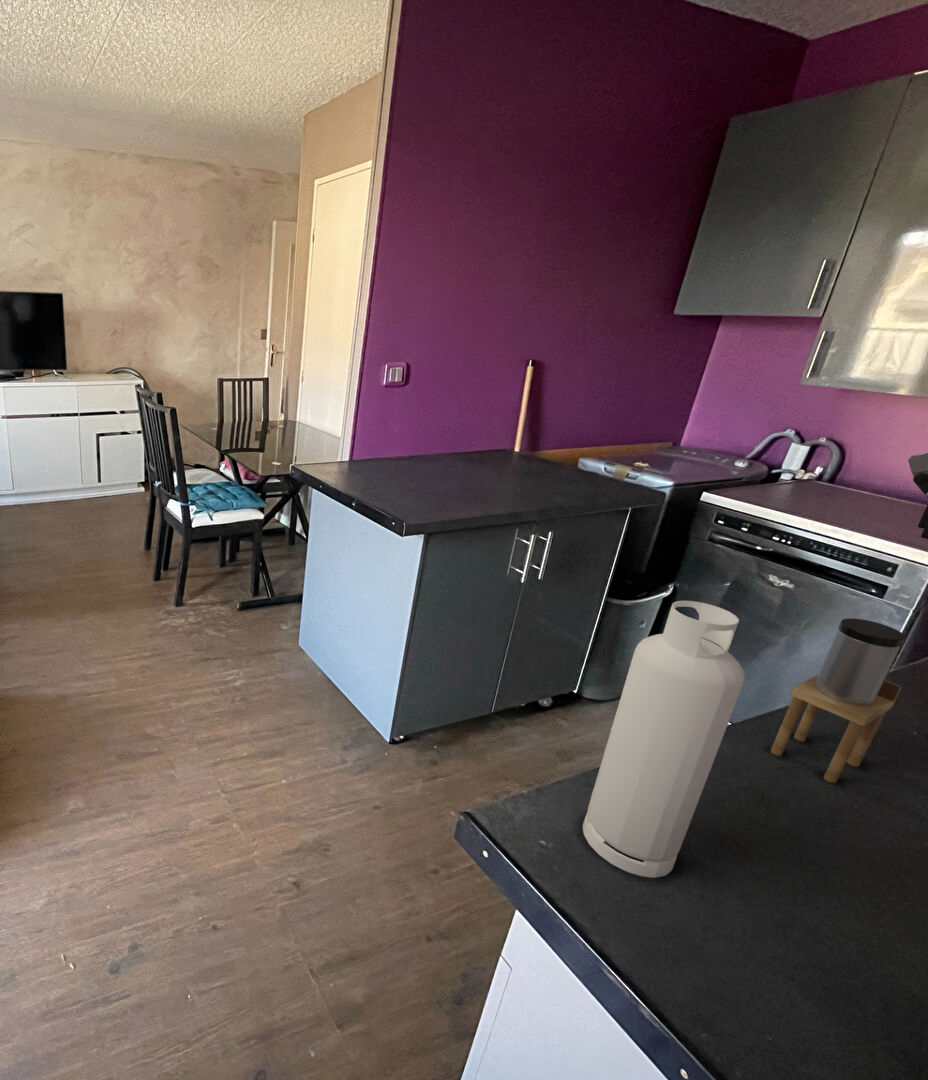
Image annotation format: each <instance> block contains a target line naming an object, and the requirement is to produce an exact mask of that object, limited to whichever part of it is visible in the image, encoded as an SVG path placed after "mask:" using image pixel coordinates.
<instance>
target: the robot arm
mask: <svg viewBox="0 0 928 1080" xmlns="http://www.w3.org/2000/svg"><path fill="white" fill-rule="evenodd" d="M907 462H908V465H909V468H910V472H911V475H912V476H913V477H912V478H913V479H912V481H913V483H914V484H915V485H916V486H917V487H918V489H920V491H921V492H922V493H923V494H924V496H925V497H924V498H925V500H927V501H928V452H923V453H917V454H913V455H911V456H909V457H908V458H907ZM917 528H919V529H923V530H922V533H921V535H920V538H921V539H926V540H928V504H926V507H925V509H924V512H923V514H922V516H921V518H920V520H919V522H918V525H917Z"/></svg>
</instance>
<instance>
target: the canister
mask: <svg viewBox="0 0 928 1080" xmlns="http://www.w3.org/2000/svg"><path fill="white" fill-rule="evenodd" d="M905 640H906V634H904V633H903V632H901V631H900V630H898V629H896V628H894V627H891V626H888V625H885V624H884V623H880V622H876V621H873V620H868V619H862V618H851V617H850V618H843V619H842V620H841V621H840V623H839V625H838V628H837V631H836V634H835V636H834V638H833V641H832V643H831V645H830V648H829V650H828V652H827V654H826V656H825V659H824V661H823V663H822V666H821V668H820V670H819V673H818V674H819V675H818V674H817V675H818V677H817V680H816V682H815V687H816V689H817V690H818V691H820V692H821V693H823V694H824V695H826V696H828V697H830V698H833V699H835V700H838V701H841V702H844V703H848V704H852V705H857V706H870V705H872V704H873V702H874V700H875V698H876V696H877V694H878V692H879V690H880V688H881V686H882V684H883V682H884V680H886V678H887V675H888V673H889V671H890V669H891V668H892V665H893V663H894V662H895V659H896V657H897V655H898V653H899V650H900V648H901V646H903V644H904V642H905Z"/></svg>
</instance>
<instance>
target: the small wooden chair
mask: <svg viewBox="0 0 928 1080" xmlns="http://www.w3.org/2000/svg"><path fill="white" fill-rule="evenodd" d="M818 675H819V673H818V674H816V675H814V676H813V677H811V678H809V679H807V680H805V681H802V682H801V683H799V684H798V685H796V686H794V687H793V688H792V691H791V693H790V696H791V697H792V699H791V701H790V703H789V706H788V708H787V711H786V712H785V715H784V717H783V720H782V722H781V725H780V727H779V729H778V732H777V734H776V737H775V739H774V741H773V744H772V745H771V749H770V753H771V754H773V755H775V756H778V757H782V756H783V754H784V752H785V749H786V746H787V744H788V742H789V740H790V738H791V736H792V733H793V731H794V728H795V726H796V724H797V722H798V720H799V717H800V714H801V712H802V710H803V707H804V706H805V703H807V705H806V708H805V710H804V712H803V715H802V717H801V719H800V722H799V724H798V726H797V728H796V731H795V733H794V735H793V739H795V740H797V741H799V742H805V741H806V740H807V738H808V736H809V733H810V731H811V729H812V726H813V724H814V722H815V720H816V718H817V715H818V713H819V711H820V709H821V710H824V711H827V712H829V713H831V714H834V715H836V716H838V717H841V718H842V719H845V720H848V721H849V723H848V724H847V727H846V729H845V731H844V733H843V735H842V738H841V739H840V742H839V744H838V745H837V748H836V750H835V752H834V754H833V756H832V759H831V760H830V763H829V765H828V767H827V769H826V771H825V773H824V775H823V779H824V780H825V781H827V782H828V783H831V784H836V783H837V782H838V780H839V778H840V776H841V774H842V771H843V769H844V767H845V766H846V763H847V764H848V765H850V766H852V767H856V768H859V767H860V765H861V763H862V761H863V759H864V757H865V756H866V753H867V751H868V749H869V747H870V745H871V744H872V741H873V739H874V738H875V735H876V733H877V731H878V729H879V727H880V725H881V723H882V721H883V719H884V717H885V715H886V713H887V712H888V711H889V710H891V709H892V708H893V707H894V704H895V702H896V700H897V698H898V696H899V694H900V692H901V689H902V688H903V686H902V685H900V684H898V683H895V682H892V681H889V680H887V679H885V680H884V682H883V684H882V686H881V688H880V690H879V692H878V694H877V696H876V698H875V700H874V702H873V704H872V705H870V706H857V705H852V704H848V703H844V702H841V701H838V700H835V699H833V698H830V697H828V696H826V695H824V694H823V693H821V692H820V691H818V690H817V689H816V687H815V682H816V680H817V677H818Z"/></svg>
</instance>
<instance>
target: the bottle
mask: <svg viewBox="0 0 928 1080" xmlns="http://www.w3.org/2000/svg"><path fill="white" fill-rule="evenodd" d="M682 607H684V608H685V607H687V608H692V609H695V610H696V612H697V613H698V619H696V618H693V617H689V616H687V615H685V614H683V613H681V612H680V611H678V610H677V609H676V608H682ZM739 623H740V619H739V618H738V616H737V615H736V614H734V613H733V612H731V611H729V610H727V609H724V608H722V607H719V606H716V605H714V604H710V603H706V602H702V601H701V602H700V601H694V600H677V601H675V602H672V604H671V607H670V609H669V613H668V617H667V620H666V623H665V626H664V629H663V632H662V633H657V634H653V635H649V636H648V637H647V636H646V637H645V638H643V639H642V640H641V641H640V642H638V644H637V645H636V647H635V649H634V651H633V655H632V658H631V662H630V665H629V669H628V673H627V675H626V679H625V682H624V686H623V689H622V691H621V694H620V695H621V696H620V699H619V701H618V705H617V709H616V713H615V716H614V719H613V722H612V726H611V729H610V733H609V735H608V739H607V743H606V746H605V749H604V752H603V757H602V759H601V763H600V766H599V770H598V773H597V776H596V780H595V783H594V787H593V789H592V793H591V796H590V800H589V803H588V807H587V812H586V814H585V817H584V820H583V824H582V832H583V836H584V838H585V839H586V841H587V843H588V845H589V846H590V847H591V848H592V849H593V850H594V852H596V853H597V854H598V855H599V856H600V857H601V858H603V859H604V860H605V861H607V862H608V863H610V864H611V865H613V866H614V867H617V868H618V869H621V870H623V871H625V872H627V873H629V874H632V875H636V876H640V877H645V878H660V877H665V876H667V875H669V874H670V873H671V872H672V871H673V868H674V867H675V863H676V860H677V858H678V854H679V853H680V850H681V847H682V845H683V842H684V840H685V837H686V835H687V832H688V830H689V827H690V825H691V822H692V819H693V816H694V814H695V811H696V809H697V806H698V804H699V800H700V798H701V795H702V794H703V791H704V787H705V785H706V783H707V780H708V777H709V775H710V772H711V769H712V767H713V764H714V762H715V760H716V759H715V758H716V756H717V754H718V752H719V749H720V746H721V743H722V741H723V739H724V736H725V733H726V730H727V727H728V725H729V723H730V719H731V717H732V715H733V712H734V710H735V707H736V704H737V701H738V699H739V697H740V694H741V691H742V689H743V686H744V683H745V679H746V677H745V676H746V675H745V671H744V668H743V666H742V665H741V663H740V662H739V661H738V659H736V658H735V656H733V654H731V653H730V652H729V650H730V647H731V645H732V641H733V639H734V635H735V633H736V630H737V628H738V625H739ZM612 847H613V848H612ZM620 852H621V853H620ZM624 854H625V855H624ZM626 855H627V856H626ZM628 856H629V857H628ZM630 857H631V858H630ZM633 858H635V859H633ZM637 859H638V860H637ZM640 860H641V861H640Z"/></svg>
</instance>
